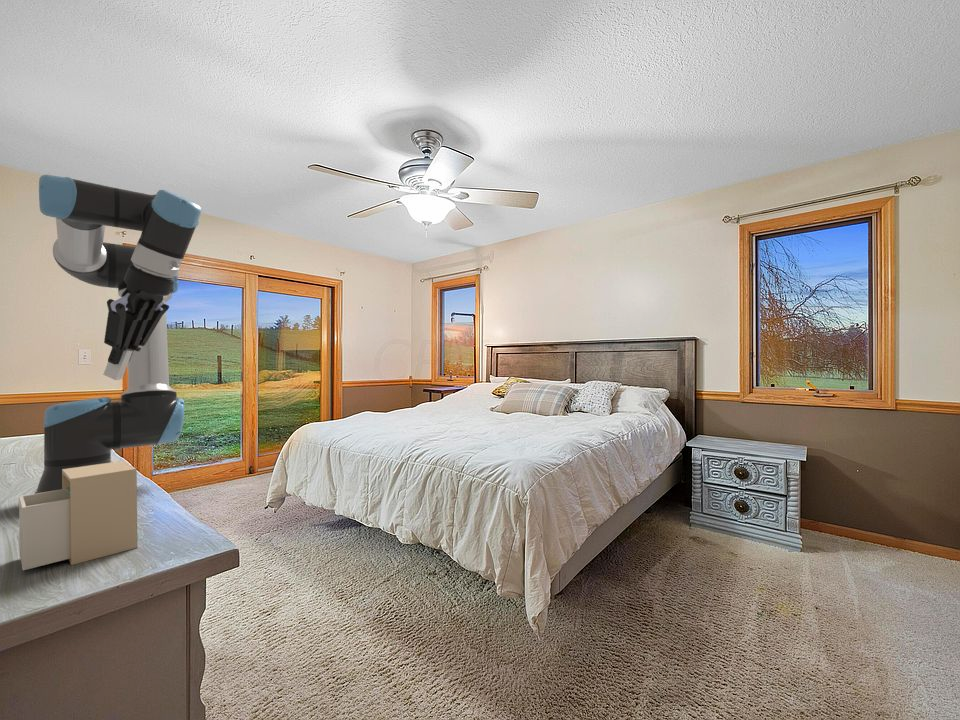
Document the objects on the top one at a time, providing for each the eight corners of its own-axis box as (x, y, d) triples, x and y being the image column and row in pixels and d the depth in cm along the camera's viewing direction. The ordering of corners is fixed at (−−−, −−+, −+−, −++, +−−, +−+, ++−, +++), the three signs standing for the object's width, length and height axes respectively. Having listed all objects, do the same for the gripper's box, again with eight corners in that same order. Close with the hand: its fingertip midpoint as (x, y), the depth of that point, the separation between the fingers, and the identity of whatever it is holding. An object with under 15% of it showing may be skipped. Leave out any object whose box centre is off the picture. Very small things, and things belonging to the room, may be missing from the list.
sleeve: (123, 532, 79) (122, 460, 79) (137, 547, 71) (136, 468, 72) (62, 546, 73) (62, 469, 73) (71, 565, 65) (70, 478, 66)
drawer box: (102, 534, 76) (102, 482, 76) (112, 547, 70) (112, 491, 70) (19, 553, 68) (19, 496, 68) (22, 570, 62) (22, 507, 62)
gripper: (145, 276, 79) (101, 390, 81) (193, 281, 92) (154, 379, 94) (106, 258, 78) (64, 373, 81) (160, 265, 91) (122, 364, 94)
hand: (112, 376), depth 88 cm, fingers closed
